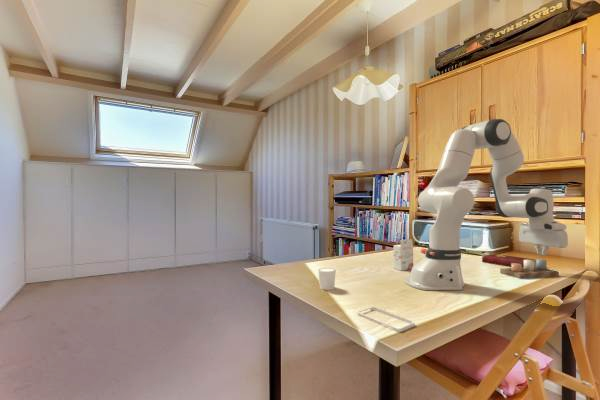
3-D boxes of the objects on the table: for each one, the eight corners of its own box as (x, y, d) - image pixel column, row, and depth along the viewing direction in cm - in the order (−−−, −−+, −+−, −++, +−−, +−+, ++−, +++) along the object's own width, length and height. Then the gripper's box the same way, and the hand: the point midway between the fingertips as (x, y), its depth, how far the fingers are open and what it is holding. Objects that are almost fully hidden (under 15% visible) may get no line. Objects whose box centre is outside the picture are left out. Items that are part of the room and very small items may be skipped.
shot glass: (321, 291, 113) (321, 272, 113) (315, 286, 120) (315, 268, 120) (338, 289, 115) (338, 271, 115) (332, 284, 122) (331, 267, 122)
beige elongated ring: (415, 327, 82) (372, 310, 94) (415, 322, 82) (372, 306, 94) (398, 334, 78) (356, 316, 90) (398, 329, 78) (356, 311, 90)
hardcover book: (527, 271, 143) (527, 262, 143) (481, 263, 161) (481, 255, 161) (538, 267, 149) (538, 259, 149) (493, 260, 167) (493, 252, 167)
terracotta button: (516, 275, 131) (516, 265, 131) (509, 273, 135) (508, 263, 135) (523, 274, 132) (523, 264, 132) (516, 272, 136) (516, 262, 136)
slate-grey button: (541, 270, 134) (541, 260, 134) (533, 269, 137) (533, 259, 137) (548, 270, 134) (548, 260, 134) (540, 268, 138) (540, 258, 138)
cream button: (529, 271, 132) (529, 261, 132) (521, 269, 136) (521, 259, 136) (536, 271, 133) (536, 261, 133) (528, 269, 137) (528, 259, 137)
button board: (519, 278, 128) (519, 273, 128) (500, 272, 138) (500, 268, 138) (558, 276, 131) (558, 271, 131) (537, 270, 141) (537, 266, 141)
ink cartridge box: (405, 266, 152) (405, 237, 152) (413, 268, 148) (413, 238, 148) (393, 268, 148) (393, 238, 148) (400, 270, 144) (400, 240, 144)
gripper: (514, 222, 145) (515, 251, 145) (558, 226, 125) (558, 259, 125) (526, 222, 146) (526, 250, 147) (570, 225, 126) (571, 258, 126)
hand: (541, 254), depth 136 cm, fingers closed
